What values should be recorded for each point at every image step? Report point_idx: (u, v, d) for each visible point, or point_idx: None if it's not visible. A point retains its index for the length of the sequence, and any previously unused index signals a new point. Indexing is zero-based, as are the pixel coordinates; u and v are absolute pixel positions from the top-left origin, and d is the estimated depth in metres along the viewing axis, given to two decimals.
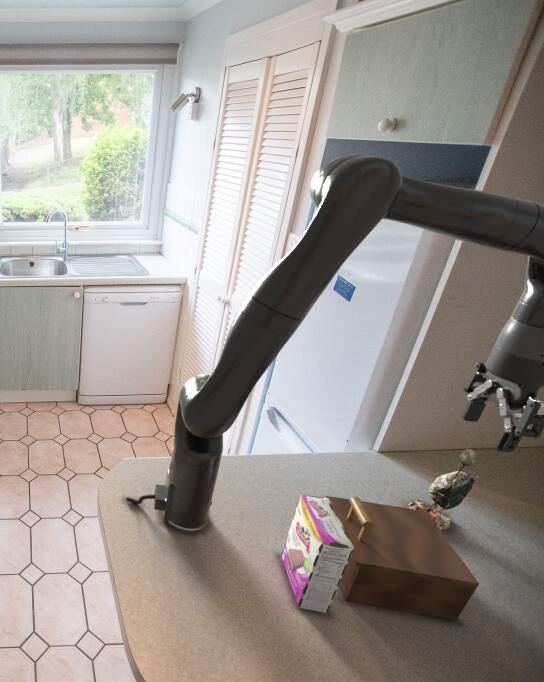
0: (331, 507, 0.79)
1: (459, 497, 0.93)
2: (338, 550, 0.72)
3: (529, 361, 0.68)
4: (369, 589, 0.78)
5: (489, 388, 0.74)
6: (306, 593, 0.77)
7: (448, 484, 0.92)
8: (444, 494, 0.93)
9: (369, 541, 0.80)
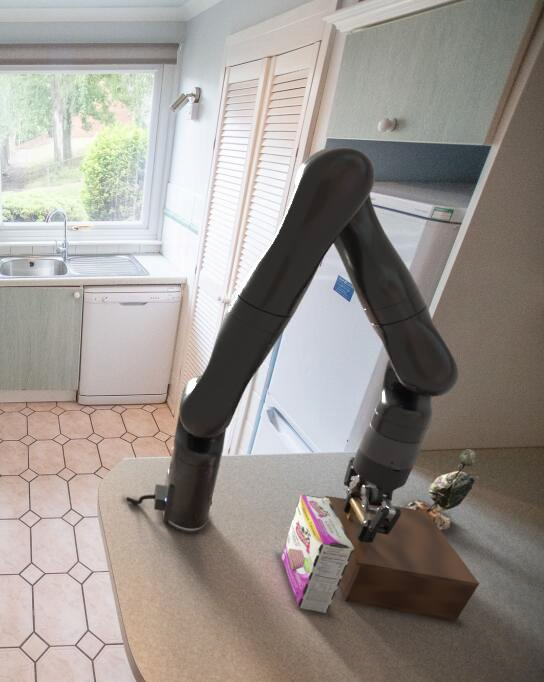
0: (331, 507, 0.79)
1: (459, 497, 0.93)
2: (338, 551, 0.72)
3: (382, 466, 0.73)
4: (369, 589, 0.78)
5: (358, 482, 0.80)
6: (306, 593, 0.77)
7: (448, 484, 0.92)
8: (444, 494, 0.93)
9: None
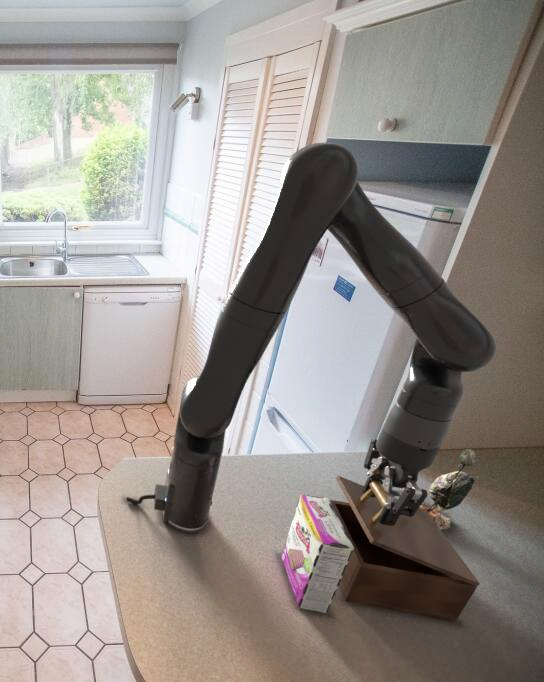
0: (331, 507, 0.79)
1: (459, 497, 0.93)
2: (338, 551, 0.72)
3: (408, 446, 0.71)
4: (369, 589, 0.78)
5: (380, 464, 0.78)
6: (306, 593, 0.77)
7: (448, 484, 0.92)
8: (444, 494, 0.93)
9: (381, 525, 0.78)
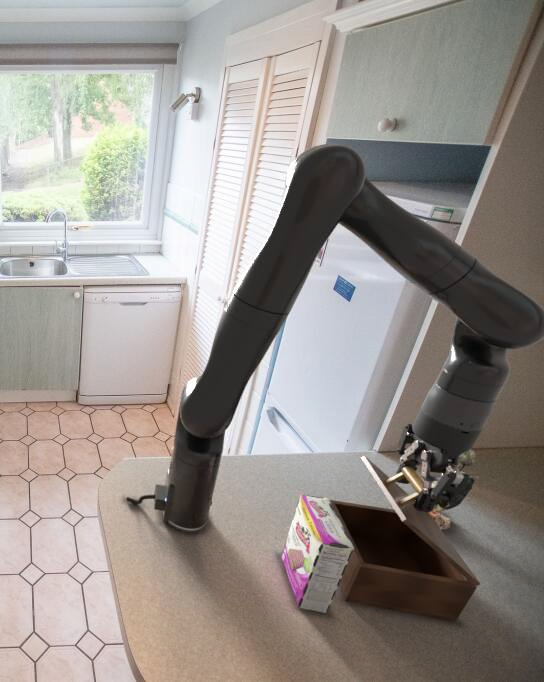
0: (331, 507, 0.79)
1: (459, 497, 0.93)
2: (338, 551, 0.72)
3: (449, 428, 0.68)
4: (369, 589, 0.78)
5: (416, 449, 0.75)
6: (306, 593, 0.77)
7: None
8: None
9: (406, 509, 0.76)
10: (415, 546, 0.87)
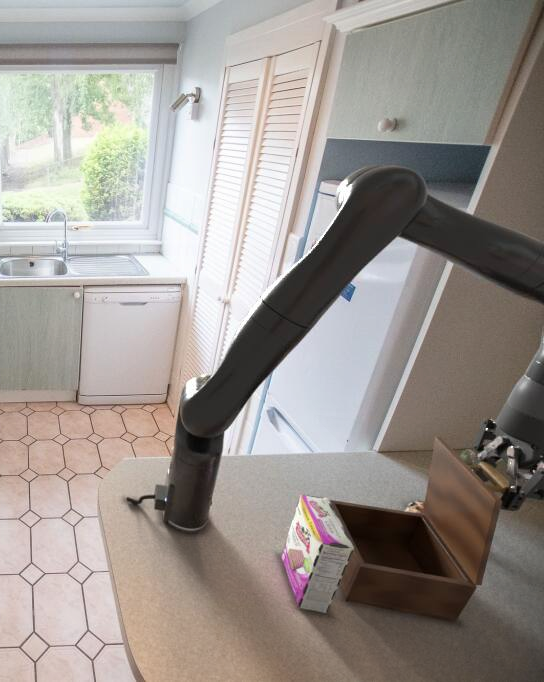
0: (331, 507, 0.79)
1: None
2: (338, 551, 0.72)
3: (543, 423, 0.65)
4: (369, 589, 0.78)
5: (499, 445, 0.72)
6: (306, 593, 0.77)
7: None
8: None
9: None
10: (415, 546, 0.87)
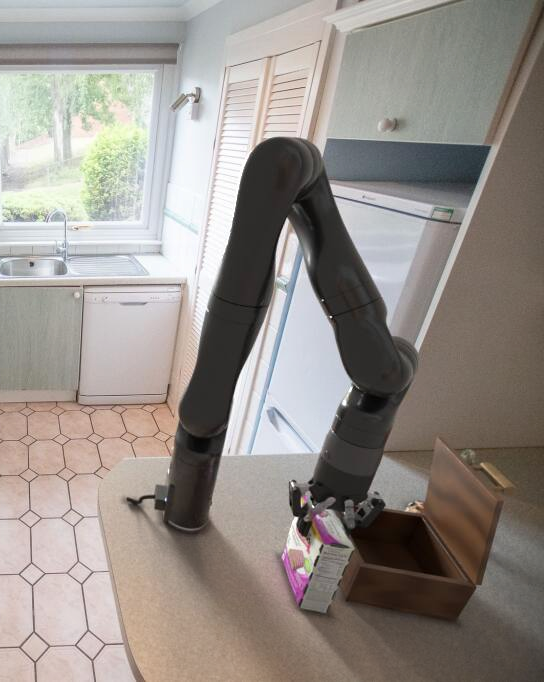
0: None
1: None
2: (339, 551, 0.72)
3: None
4: (369, 589, 0.78)
5: None
6: (307, 593, 0.77)
7: None
8: None
9: None
10: (415, 546, 0.87)
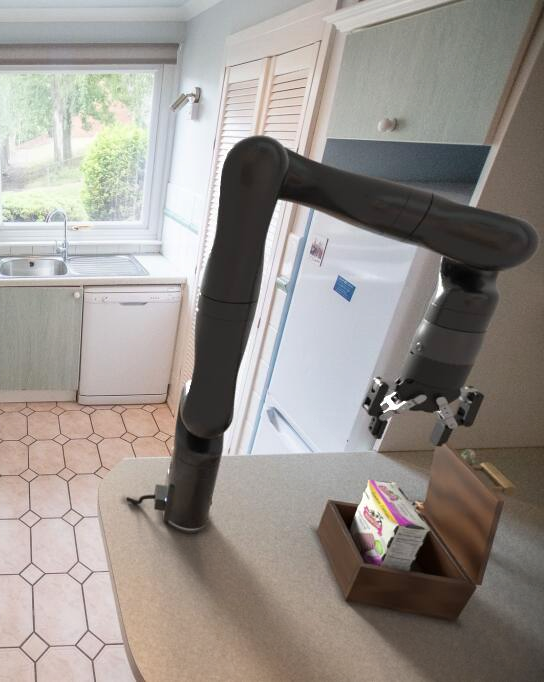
0: (401, 491, 0.81)
1: None
2: (414, 532, 0.74)
3: (409, 348, 0.70)
4: (369, 589, 0.78)
5: None
6: None
7: None
8: None
9: None
10: None
